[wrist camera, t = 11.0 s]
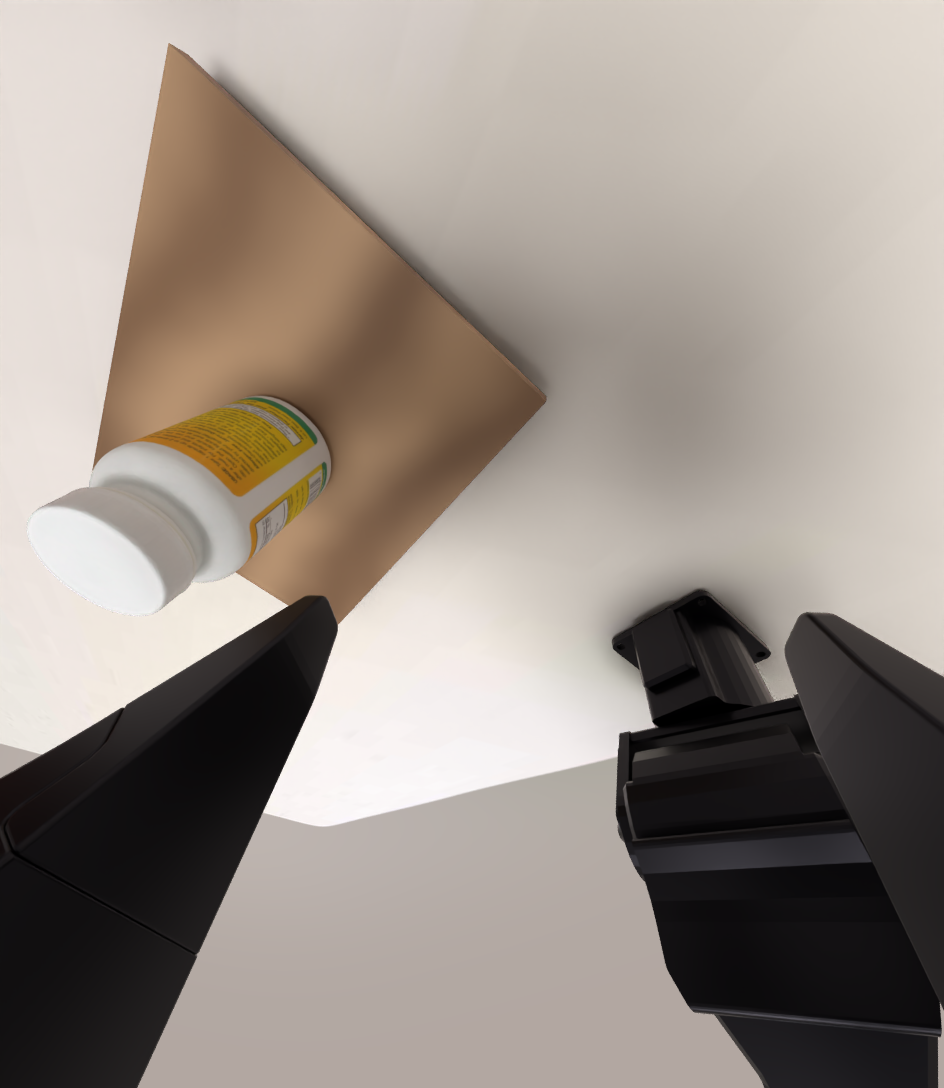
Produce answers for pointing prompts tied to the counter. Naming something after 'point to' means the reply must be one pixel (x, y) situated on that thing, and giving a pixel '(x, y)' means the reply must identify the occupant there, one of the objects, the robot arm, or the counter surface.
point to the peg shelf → (299, 341)
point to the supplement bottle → (182, 505)
